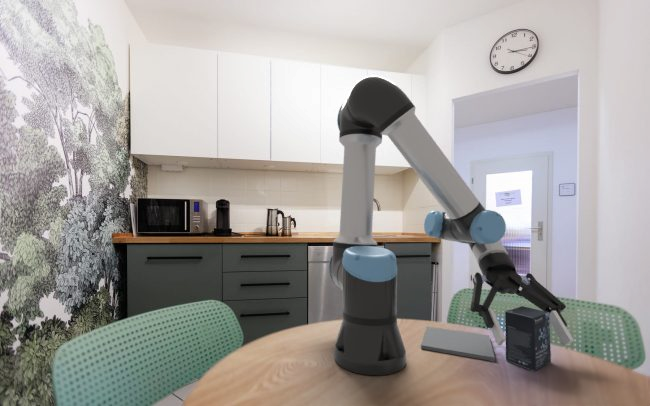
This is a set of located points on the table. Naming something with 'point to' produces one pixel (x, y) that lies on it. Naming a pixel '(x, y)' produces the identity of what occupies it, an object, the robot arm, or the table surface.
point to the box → (527, 337)
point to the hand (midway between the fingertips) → (535, 343)
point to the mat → (458, 343)
